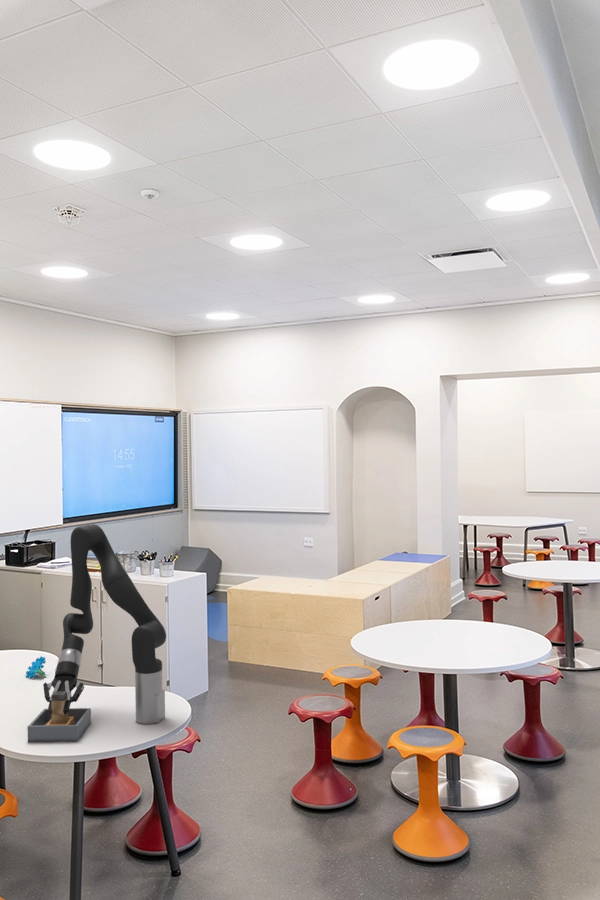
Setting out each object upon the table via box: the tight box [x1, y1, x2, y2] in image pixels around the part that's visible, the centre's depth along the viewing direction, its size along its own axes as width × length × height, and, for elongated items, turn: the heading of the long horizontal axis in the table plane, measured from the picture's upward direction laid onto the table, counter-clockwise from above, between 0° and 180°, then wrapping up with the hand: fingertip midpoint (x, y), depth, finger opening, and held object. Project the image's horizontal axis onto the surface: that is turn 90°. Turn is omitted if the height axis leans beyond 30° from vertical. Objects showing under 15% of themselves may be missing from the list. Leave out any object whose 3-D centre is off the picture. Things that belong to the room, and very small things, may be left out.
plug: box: [51, 691, 68, 724], centre depth 246 cm, size 4×4×10 cm
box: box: [27, 707, 92, 743], centre depth 246 cm, size 16×16×5 cm
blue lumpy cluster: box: [25, 655, 47, 679], centre depth 307 cm, size 11×6×10 cm
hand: (57, 712), depth 244 cm, fingers closed on plug, 4 cm apart
